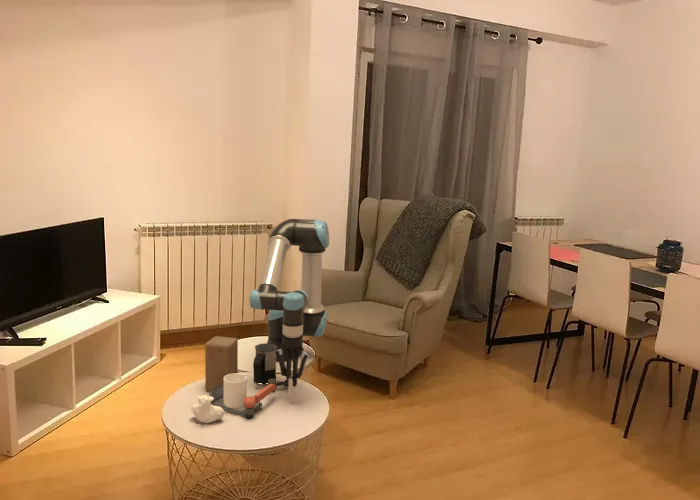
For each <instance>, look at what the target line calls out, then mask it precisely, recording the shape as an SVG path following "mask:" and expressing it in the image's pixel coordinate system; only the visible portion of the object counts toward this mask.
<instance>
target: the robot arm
mask: <svg viewBox="0 0 700 500" xmlns="http://www.w3.org/2000/svg"><path fill="white" fill-rule="evenodd" d="M267 242H268V246H269V247H268V251H267V255H266V258H265V262H264V267H263V269H262V274H261V277H260V279H259V285H258V288H256V289H252V290H251V292H250V293H249V306H250V308H251V309H253V310H260V311H263V310H265V311H268V317H267V320H268V322H267V323H268V326H267V327H268V329H267V331H268V332H267V337H268V338H267V342H266V343H268V344H274V345H276V346H277V349H276V352H275V353H276V362H278V364H279V369H280V373H281V376H283V377H285V380H286V385H287V386H288V396H293V395H294V393H295V392H296V391H295V387H297V385H298V379H300V378H301V377H302V375H304V374H303V373H304V370H305V366H306V362H307V359H308V357H309V356H310V353H309V352H305V348H304V347H303V346H304V345H303V341H304V337H313V338H314V337H317V338H319V337H322V336H323V335H324V334H325V329H326V325H327V319H328V311H327V310H325V306H324V305H323V304H322V271H323V270H322V266H323V265H322V264H323V263H322V261H323V259H322V258H323V254H324V253H325V252H326V249H327V248H329V247H330V232H329V227H328V224H327V222H326V221H325V220H319V219H303V218H290V219H289V218H287V219H286V220H284V221H282V222H280V223H279V224H278V225H277V226H276V227H275V228H274V229H273V230H272V231H271V233H270V235H269V237H268V241H267ZM291 246H295V247H296V246H297V247H298V251H299V252H300V254H301V255H302V257H301V260H302V262H301V263H302V264H301V265H302V267H301V271H302V272H301V284H302V285H301V289H295V290H293V291H282V290H281V291H280V290H279V286H280V281H281V278H282V274H283V268H284V265H285V261H286V256H287V252H288V251H289V250H290V248H291ZM300 357H301V358H302V359H301V362H300V364H299V358H300Z"/></svg>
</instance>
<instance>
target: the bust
mask: <svg viewBox="0 0 700 500" xmlns="http://www.w3.org/2000/svg"><path fill="white" fill-rule="evenodd" d="M213 399H214V397H211V396H209V394H203V395H197V400H198V403H196V404H193V405H192V406H191V407H190V410H191V412H192V414H193V415H194V417H195V419H196V420H197V421H199V422H200V423H203V424H210V423H212V422H216V421H218V420H222V419H223V417H224V415H225V411H224V410H223V409H222V408H221V407H219V406H213V405H211V401H213Z"/></svg>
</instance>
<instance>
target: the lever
mask: <svg viewBox="0 0 700 500" xmlns="http://www.w3.org/2000/svg"><path fill="white" fill-rule="evenodd" d="M276 379H277V378H276ZM276 379H273V378H271V379H268V385H266V386H265V387H264V388H262V389H261V390H260V391H258V392H253V393H251V394H249V396H246V397H245V398H244V407H246V408H253V407H254V408H255V407H257V406H258V405H259V404H260V403H261V401H262V400H264V399H266V397H267V396H269V395H270V394H273V393H276V391H277V385H276V382H277V381H276Z"/></svg>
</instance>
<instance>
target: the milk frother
mask: <svg viewBox="0 0 700 500" xmlns="http://www.w3.org/2000/svg"><path fill="white" fill-rule="evenodd" d="M254 348H255V357H254V358H253V364H252V365H253V369H252V371H253V382H254V383H255V382H256V383H255V384H257V383H262V384H266V383H268V379H271V378H273V379H277V361H276V353H275V352H276V349H277V346H276V345H274V344H268V343H267V342H266V343H259V344H257V345H255V346H254ZM276 386H283V387H285V386H287V385H286V379H285V380H284V381H276Z"/></svg>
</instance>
